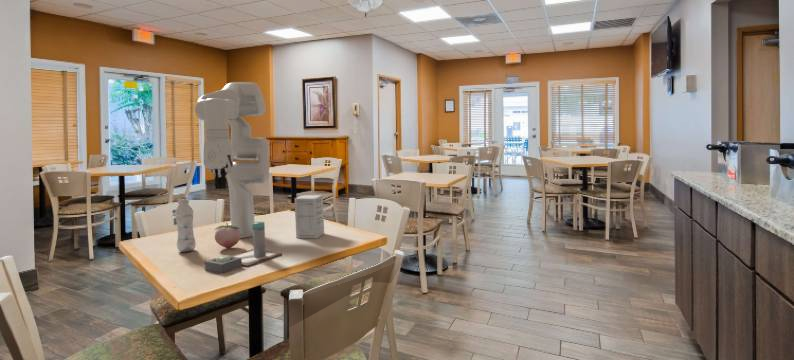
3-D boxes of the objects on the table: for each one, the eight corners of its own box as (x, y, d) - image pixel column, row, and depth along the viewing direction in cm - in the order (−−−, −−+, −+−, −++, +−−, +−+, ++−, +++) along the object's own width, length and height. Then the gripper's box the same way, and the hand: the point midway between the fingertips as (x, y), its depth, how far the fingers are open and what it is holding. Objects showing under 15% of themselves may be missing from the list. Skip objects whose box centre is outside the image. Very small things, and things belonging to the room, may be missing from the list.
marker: (251, 257, 160) (249, 223, 159) (260, 254, 164) (258, 221, 162) (259, 258, 158) (258, 224, 157) (268, 255, 162) (266, 222, 160)
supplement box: (324, 233, 197) (323, 194, 195) (317, 238, 188) (316, 198, 186) (303, 232, 199) (302, 194, 196) (295, 238, 189) (293, 198, 187)
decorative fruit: (243, 245, 180) (241, 220, 178) (239, 250, 171) (238, 224, 170) (217, 246, 178) (216, 221, 177) (213, 252, 170) (211, 225, 169)
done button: (213, 265, 149) (212, 258, 149) (224, 261, 153) (224, 254, 152) (222, 267, 147) (222, 259, 146) (233, 263, 150) (233, 256, 150)
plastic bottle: (177, 254, 167) (173, 200, 165) (177, 250, 173) (173, 198, 171) (196, 252, 170) (193, 199, 168) (195, 248, 176) (192, 196, 174)
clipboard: (218, 261, 158) (218, 258, 158) (254, 250, 171) (253, 247, 171) (247, 267, 151) (247, 264, 151) (281, 255, 165) (281, 252, 164)
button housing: (205, 270, 148) (204, 261, 148) (225, 263, 155) (224, 254, 155) (221, 273, 144) (221, 264, 144) (241, 266, 151) (241, 258, 151)
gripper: (193, 135, 156) (197, 188, 159) (223, 135, 149) (226, 191, 151) (212, 134, 163) (215, 185, 165) (241, 134, 156) (244, 188, 158)
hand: (220, 188), depth 158 cm, fingers closed
